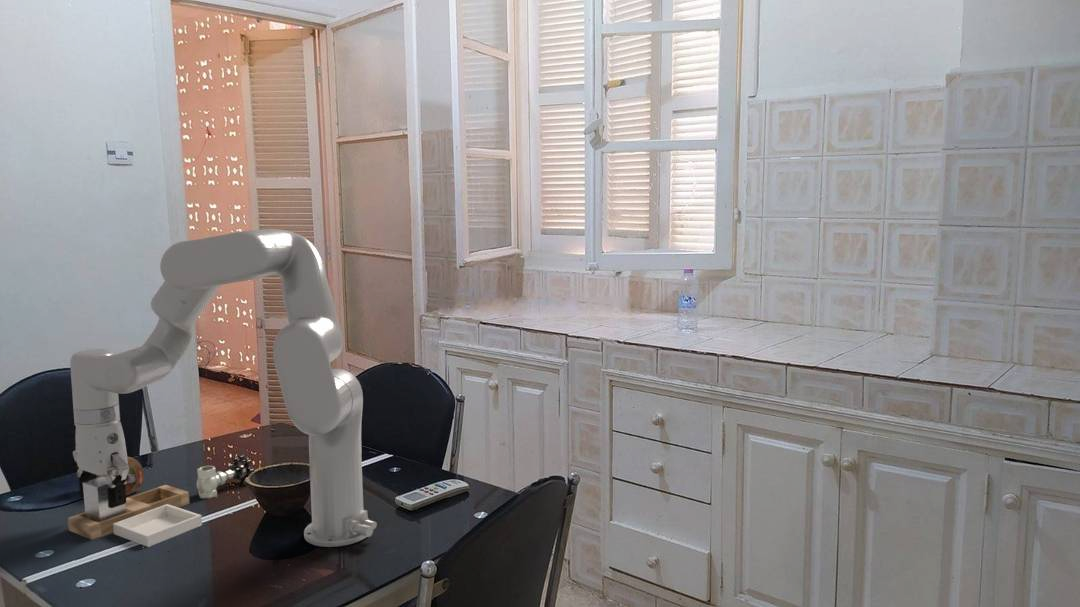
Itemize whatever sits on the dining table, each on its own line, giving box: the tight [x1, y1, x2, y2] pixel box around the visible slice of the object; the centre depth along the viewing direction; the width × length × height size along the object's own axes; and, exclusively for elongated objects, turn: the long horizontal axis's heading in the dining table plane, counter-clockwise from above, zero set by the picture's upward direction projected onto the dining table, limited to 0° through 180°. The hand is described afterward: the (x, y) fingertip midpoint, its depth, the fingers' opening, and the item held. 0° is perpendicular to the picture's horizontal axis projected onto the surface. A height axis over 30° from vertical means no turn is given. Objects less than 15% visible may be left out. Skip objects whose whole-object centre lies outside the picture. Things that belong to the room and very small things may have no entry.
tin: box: [78, 456, 145, 496], centre depth 165 cm, size 15×3×8 cm, turn 76°
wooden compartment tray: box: [67, 484, 190, 540], centre depth 151 cm, size 8×20×3 cm, turn 149°
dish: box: [113, 504, 203, 548], centre depth 145 cm, size 11×11×2 cm
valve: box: [196, 454, 255, 499], centre depth 165 cm, size 7×7×12 cm
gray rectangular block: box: [83, 476, 126, 522], centre depth 146 cm, size 5×5×9 cm
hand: (103, 500), depth 146 cm, fingers open, 9 cm apart
